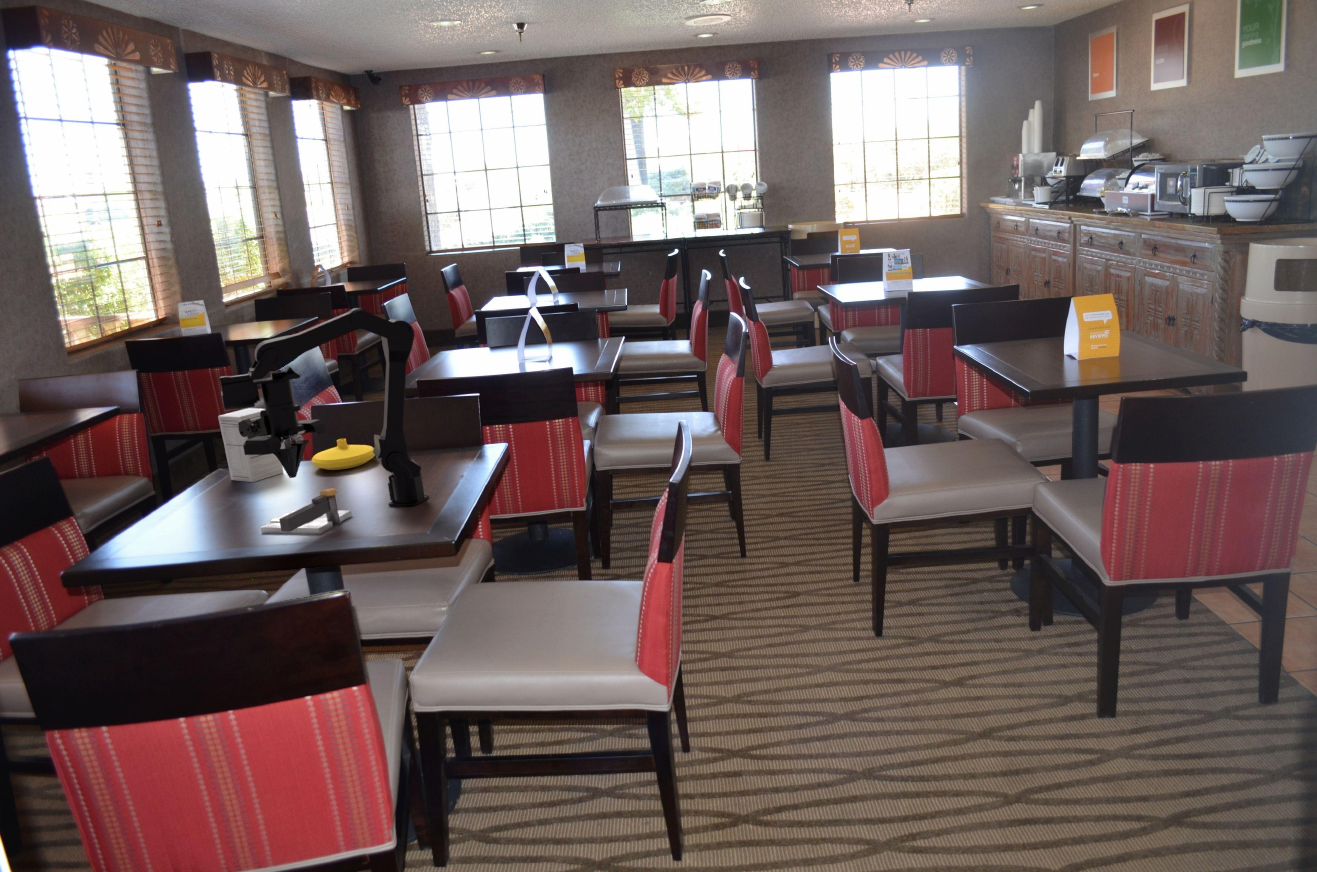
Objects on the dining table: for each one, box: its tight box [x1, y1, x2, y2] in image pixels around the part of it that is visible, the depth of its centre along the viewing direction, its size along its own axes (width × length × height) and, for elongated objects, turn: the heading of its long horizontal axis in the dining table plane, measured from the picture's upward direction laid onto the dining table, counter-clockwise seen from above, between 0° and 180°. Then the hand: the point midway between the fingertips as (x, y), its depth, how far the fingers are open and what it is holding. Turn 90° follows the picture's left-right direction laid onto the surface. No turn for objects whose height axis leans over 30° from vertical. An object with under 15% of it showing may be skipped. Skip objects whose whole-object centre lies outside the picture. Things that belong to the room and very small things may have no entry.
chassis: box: [260, 494, 353, 535], centre depth 197 cm, size 15×11×6 cm
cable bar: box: [279, 487, 338, 532], centre depth 189 cm, size 15×3×4 cm, turn 162°
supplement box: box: [217, 407, 284, 483], centre depth 240 cm, size 10×9×17 cm
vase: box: [311, 438, 376, 471], centre depth 244 cm, size 16×16×7 cm
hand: (292, 477), depth 196 cm, fingers closed
